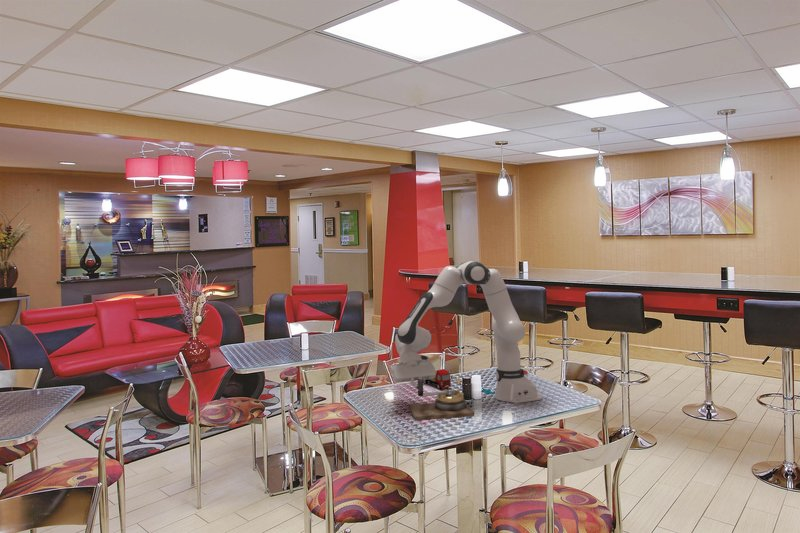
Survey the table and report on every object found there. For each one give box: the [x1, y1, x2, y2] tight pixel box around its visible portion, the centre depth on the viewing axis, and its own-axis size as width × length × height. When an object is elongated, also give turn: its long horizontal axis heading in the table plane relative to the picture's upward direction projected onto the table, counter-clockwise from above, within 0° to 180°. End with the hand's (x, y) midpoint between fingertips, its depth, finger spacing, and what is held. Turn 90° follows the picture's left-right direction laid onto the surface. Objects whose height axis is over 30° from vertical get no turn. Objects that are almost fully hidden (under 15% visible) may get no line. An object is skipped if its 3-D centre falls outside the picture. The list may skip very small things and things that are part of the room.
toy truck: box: [423, 368, 453, 391], centre depth 280 cm, size 7×21×10 cm, turn 30°
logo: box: [453, 378, 496, 395], centre depth 278 cm, size 34×1×10 cm
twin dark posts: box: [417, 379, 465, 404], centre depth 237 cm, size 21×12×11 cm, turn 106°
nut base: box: [408, 398, 475, 421], centre depth 236 cm, size 26×18×4 cm
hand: (418, 387), depth 236 cm, fingers closed, pressing on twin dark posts
